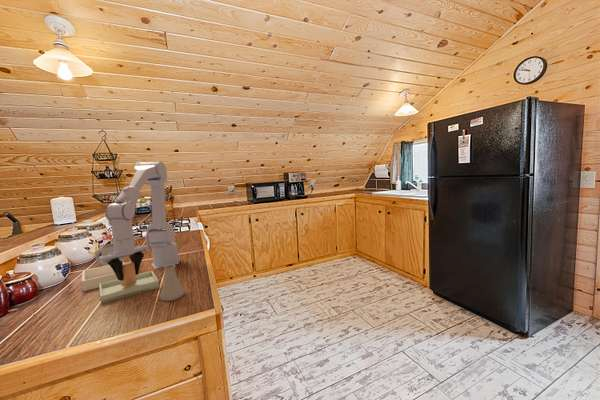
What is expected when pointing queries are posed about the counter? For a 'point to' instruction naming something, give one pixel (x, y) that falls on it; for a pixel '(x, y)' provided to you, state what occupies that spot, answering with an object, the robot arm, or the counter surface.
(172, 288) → the flask
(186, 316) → the counter surface
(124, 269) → the peg
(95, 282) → the box
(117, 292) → the tray
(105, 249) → the cup
